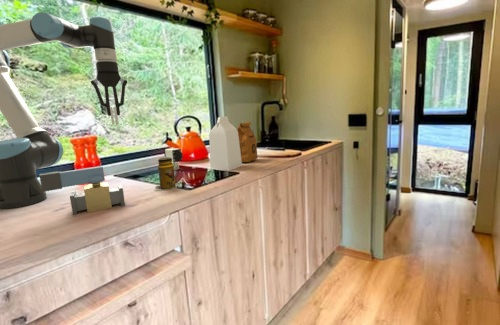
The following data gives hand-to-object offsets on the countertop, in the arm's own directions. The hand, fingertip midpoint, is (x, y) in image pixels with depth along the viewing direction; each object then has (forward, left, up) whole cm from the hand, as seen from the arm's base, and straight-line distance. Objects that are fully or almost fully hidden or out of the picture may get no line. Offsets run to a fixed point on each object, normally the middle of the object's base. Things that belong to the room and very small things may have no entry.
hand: (115, 124), depth 117 cm
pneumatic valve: (+27, +26, -27) cm, 46 cm away
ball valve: (-9, -22, -26) cm, 36 cm away
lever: (-15, -23, -18) cm, 33 cm away
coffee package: (+66, +19, -27) cm, 74 cm away
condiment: (+15, -10, -27) cm, 32 cm away
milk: (+50, +11, -27) cm, 58 cm away
